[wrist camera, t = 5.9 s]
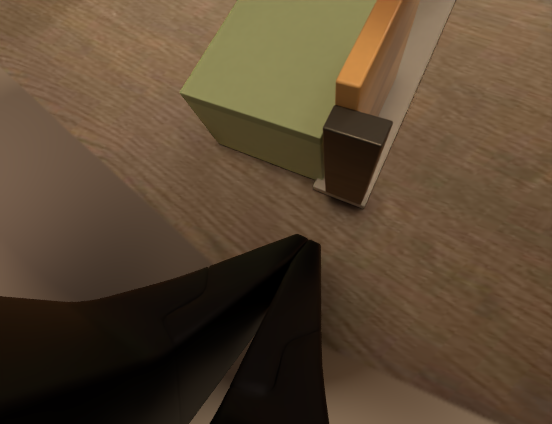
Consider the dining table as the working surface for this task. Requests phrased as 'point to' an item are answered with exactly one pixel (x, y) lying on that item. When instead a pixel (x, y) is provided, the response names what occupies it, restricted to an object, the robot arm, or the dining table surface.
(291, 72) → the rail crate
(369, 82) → the sliding door
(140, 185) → the dining table surface
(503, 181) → the dining table surface
